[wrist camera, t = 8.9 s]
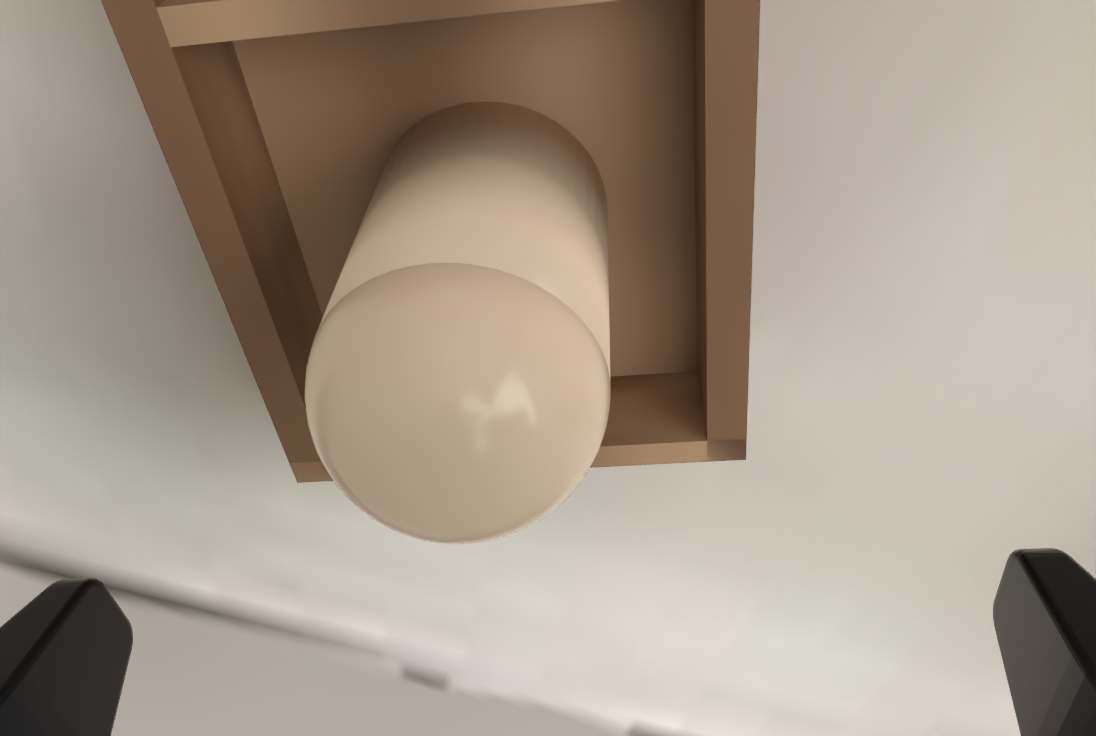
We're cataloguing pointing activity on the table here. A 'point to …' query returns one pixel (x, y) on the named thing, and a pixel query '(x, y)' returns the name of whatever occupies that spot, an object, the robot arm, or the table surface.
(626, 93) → the crate
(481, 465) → the cylinder
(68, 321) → the table surface
